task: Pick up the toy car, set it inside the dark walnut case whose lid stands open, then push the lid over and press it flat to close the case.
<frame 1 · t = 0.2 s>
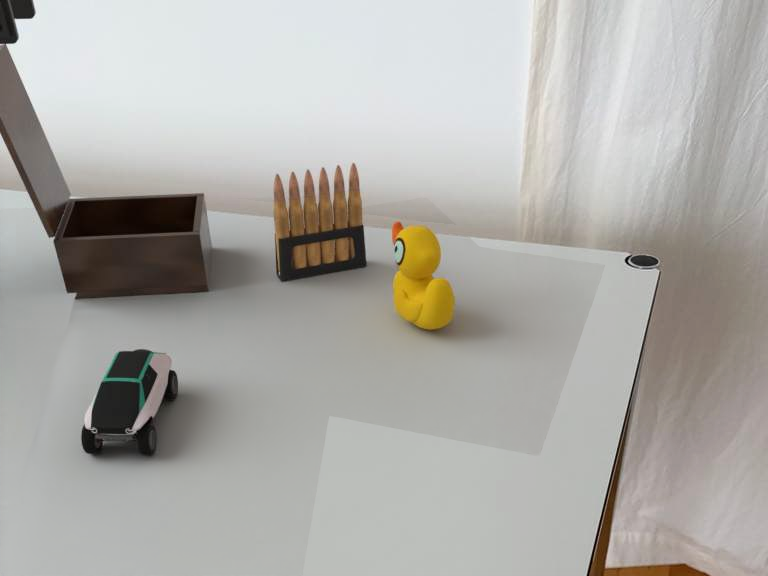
hand: (15, 30, 81), 28 cm above the table, tool pointing down, fingers open, 8 cm apart
toy car: (136, 423, 84), on the table
duckling: (419, 321, 99), on the table
case lid: (27, 142, 95), point 15 cm above the table, hinge at 100.0°
ammunition clip: (322, 272, 107), on the table
case: (143, 272, 106), on the table
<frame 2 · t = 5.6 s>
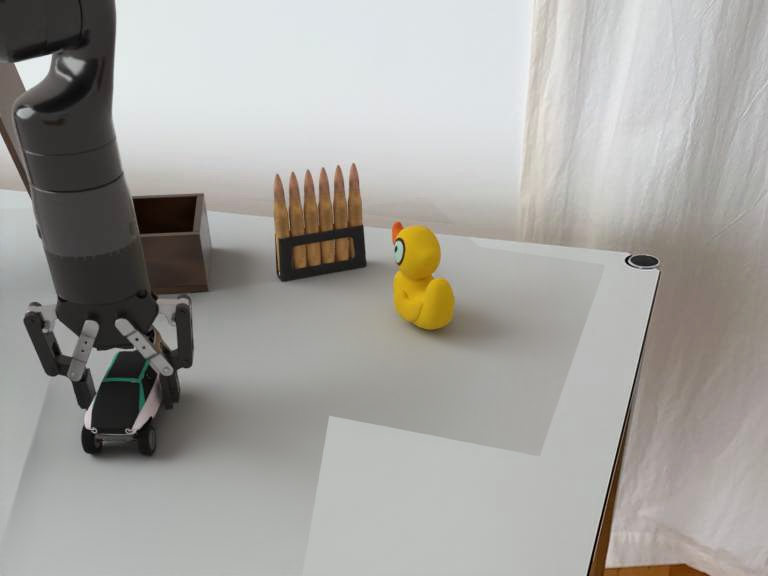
hand: (131, 406, 83), 2 cm above the table, tool pointing down, fingers closed on toy car, 6 cm apart
toy car: (136, 423, 84), on the table, touching gripper
everything else where it was.
when the fingers open (6 cm above the table, at t = 27.3 s): toy car drops 3 cm, resting on case.
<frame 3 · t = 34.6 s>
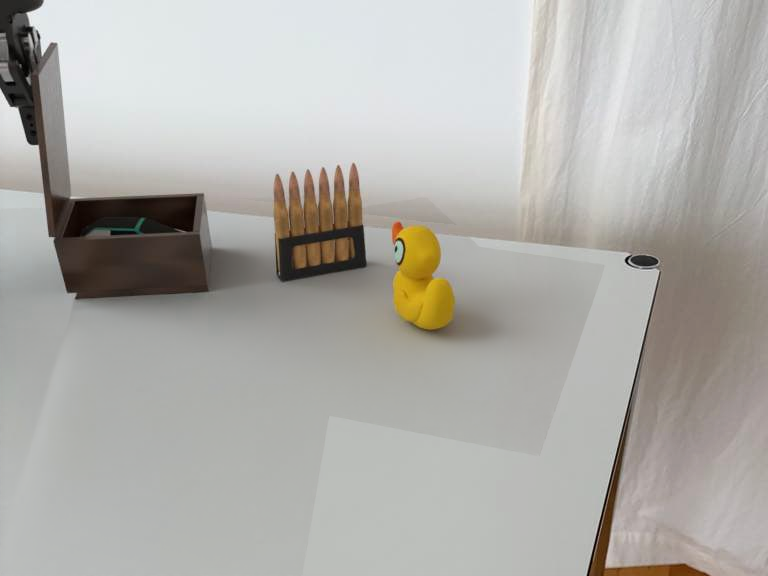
hand: (39, 142, 95), 15 cm above the table, tool pointing down, fingers closed
toy car: (140, 268, 106), point 1 cm above the table, touching case
case lid: (53, 141, 95), point 15 cm above the table, hinge at 81.4°, touching gripper
everything else where it was.
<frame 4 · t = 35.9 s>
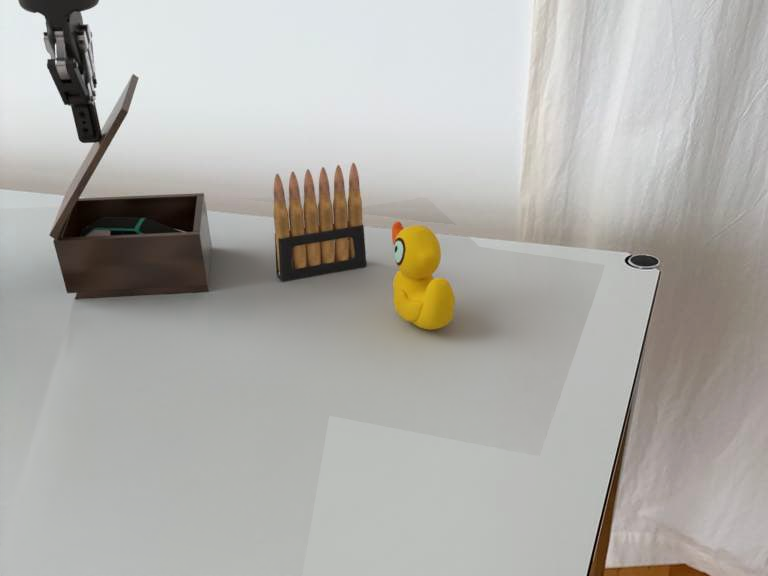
hand: (91, 140, 96), 15 cm above the table, tool pointing down, fingers closed
case lid: (94, 156, 97), point 13 cm above the table, hinge at 51.0°, touching gripper
everything else where it was.
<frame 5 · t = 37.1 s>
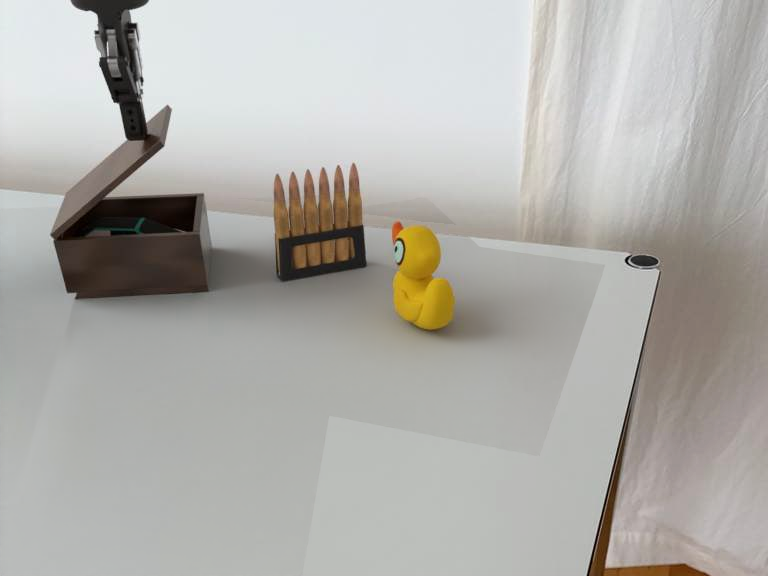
hand: (137, 138, 96), 15 cm above the table, tool pointing down, fingers closed
case lid: (112, 171, 98), point 12 cm above the table, hinge at 35.0°
everything else where it was.
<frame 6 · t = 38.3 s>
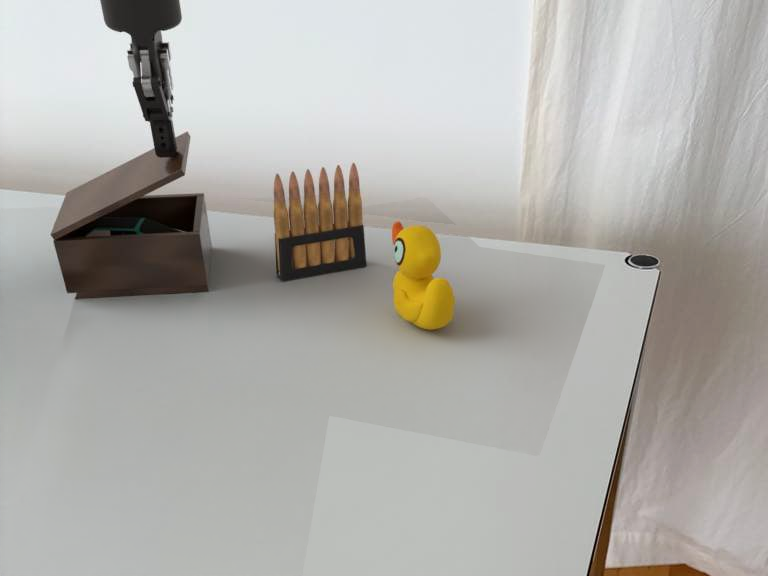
hand: (166, 154, 98), 13 cm above the table, tool pointing down, fingers closed
case lid: (122, 184, 99), point 10 cm above the table, hinge at 23.0°, touching gripper
everything else where it was.
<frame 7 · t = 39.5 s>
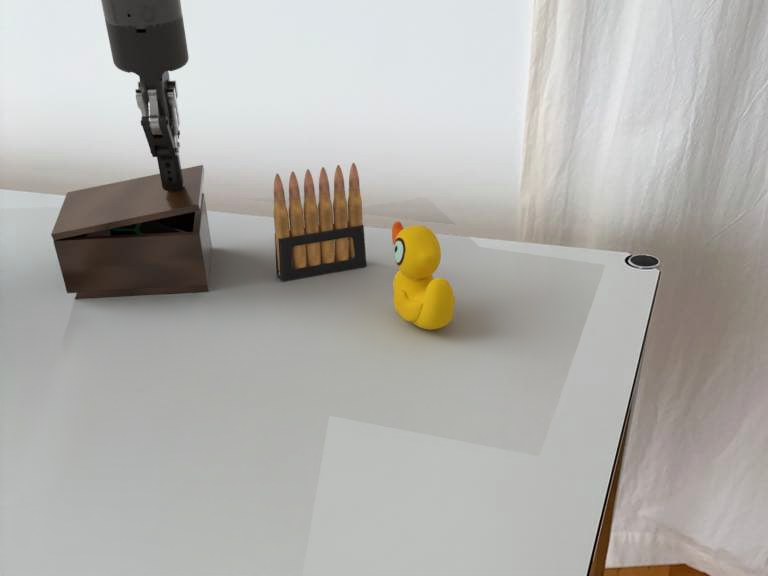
hand: (173, 188, 100), 10 cm above the table, tool pointing down, fingers closed
case lid: (131, 201, 101), point 8 cm above the table, hinge at 9.0°, touching gripper
everything else where it was.
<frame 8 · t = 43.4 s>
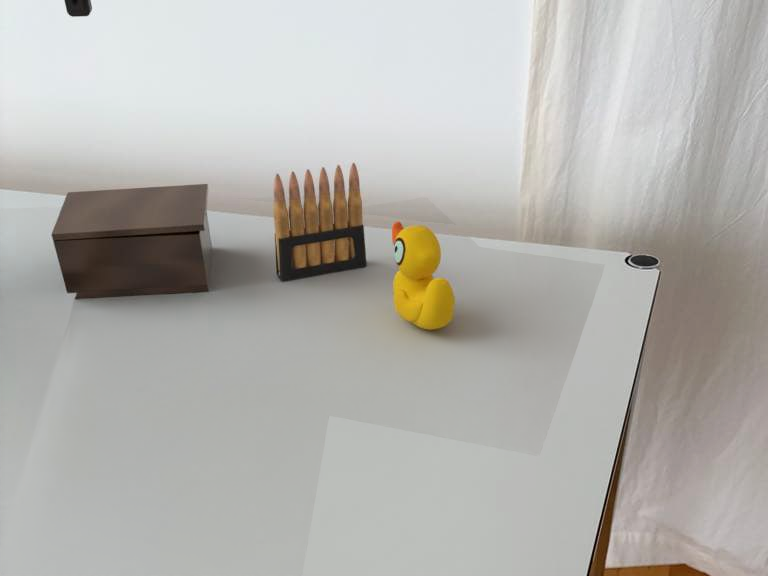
hand: (80, 14, 88), 27 cm above the table, tool pointing down, fingers closed
case lid: (133, 210, 101), point 7 cm above the table, hinge at 1.1°
everything else where it was.
at the end: case lid at +1° (first picture: +100°); toy car inside the target area in the case (0.4 cm from its centre), point 0.6 cm above the case's base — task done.
